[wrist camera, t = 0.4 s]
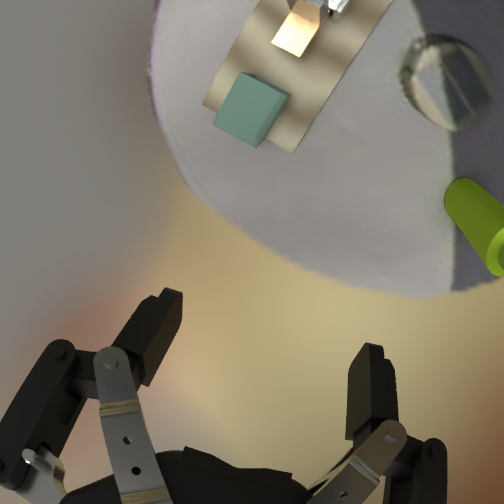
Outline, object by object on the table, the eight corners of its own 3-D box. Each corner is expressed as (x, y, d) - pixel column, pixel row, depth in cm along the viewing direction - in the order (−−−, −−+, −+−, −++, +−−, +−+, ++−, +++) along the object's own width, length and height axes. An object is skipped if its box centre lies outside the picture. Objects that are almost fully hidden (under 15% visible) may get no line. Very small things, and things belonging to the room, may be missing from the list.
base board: (308, -64, 19) (308, -67, 18) (402, -16, 20) (404, -18, 20) (204, 103, 33) (201, 104, 33) (292, 152, 35) (292, 153, 34)
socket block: (251, 73, 30) (239, 71, 25) (291, 94, 30) (286, 96, 26) (227, 117, 33) (212, 124, 28) (265, 138, 33) (256, 148, 29)
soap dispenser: (442, 172, 31) (527, 260, 15) (484, 182, 30) (574, 268, 13) (432, 215, 34) (496, 323, 18) (474, 222, 33) (545, 323, 17)
